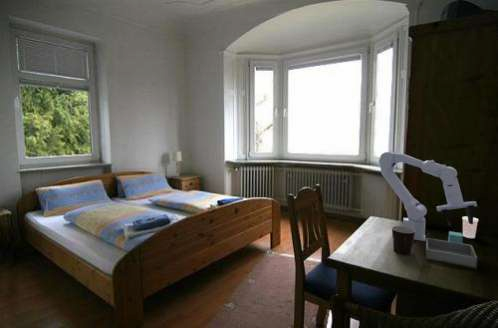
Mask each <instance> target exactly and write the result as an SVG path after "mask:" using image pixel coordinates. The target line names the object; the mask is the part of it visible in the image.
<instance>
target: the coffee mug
mask: <svg viewBox="0 0 498 328" xmlns="http://www.w3.org/2000/svg"><path fill="white" fill-rule="evenodd" d="M391 233H392V248H393V252H394V253H395V254H397V255H401V256H410V255H411V254H412V249H413V243H414V235H415V230H414V229H412V228H409V227H405V226H403V225H394V226H392V227H391Z"/></svg>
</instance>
